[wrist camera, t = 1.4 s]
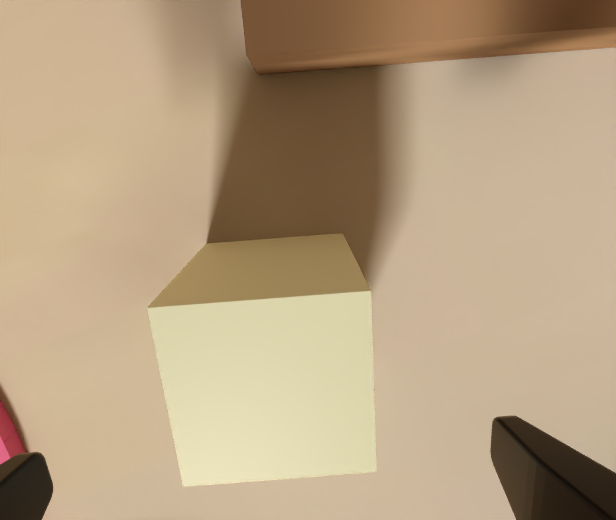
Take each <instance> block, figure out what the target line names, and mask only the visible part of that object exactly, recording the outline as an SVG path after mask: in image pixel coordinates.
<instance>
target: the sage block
mask: <svg viewBox="0 0 616 520" xmlns="http://www.w3.org/2000/svg"><path fill="white" fill-rule="evenodd" d="M147 311H148V316H149V321H150V326H151V331H152V336H153V341H154V346H155V351H156V356H157V360H158V365H159V370H160V375H161V380H162V385H163V390H164V395H165V400H166V405H167V409H168V414H169V419H170V424H171V429H172V434H173V439H174V444H175V449H176V454H177V459H178V463H179V468H180V473H181V478H182V483H183V487H187V486H200V485H213V484H226V483H239V482H252V481H265V480H278V479H291V478H304V477H317V476H330V475H343V474H356V473H369V472H376V440H375V407H374V374H373V342H372V309H371V290H370V288H369V286H368V284H367V282H366V280H365V278H364V276H363V274H362V271H361V269H360V267H359V265H358V263H357V261H356V259H355V257H354V255H353V253H352V251H351V249H350V247H349V245H348V243H347V241H346V239H345V237H344V235H343V233H336V234H323V235H310V236H297V237H284V238H271V239H258V240H245V241H232V242H219V243H206V245H205V246H204V247H203V248H202V249H201V250H200V251H199V252H198V253H197V254H196V255H195V256H194V258H193V259H192V260H191V261H190V262H189V263H188V264H187V265H186V266H185V267H184V268H183V269H182V271H181V272H180V273H179V274H178V275H177V276H176V277H175V278H174V279H173V280H172V281H171V282H170V283H169V285H168V286H167V287H166V288H165V289H164V290H163V291H162V292H161V293H160V294H159V295H158V296H157V298H156V299H155V300H154V301H153V302H152V303H151V304H150V305H149V306H148V307H147Z"/></svg>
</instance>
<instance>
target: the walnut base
mask: <svg viewBox="0 0 616 520" xmlns="http://www.w3.org/2000/svg"><path fill="white" fill-rule="evenodd" d="M241 7H242V17H243V26H244V35H245V45H246V54H247V56H248V58H249V60H250V62H251V63H252V65H253V67H254V68H255V70H256V72H257V73H258V74H271V73H284V72H297V71H310V70H323V69H336V68H349V67H362V66H375V65H388V64H401V63H414V62H427V61H441V60H454V59H467V58H480V57H493V56H506V55H519V54H532V53H545V52H558V51H571V50H584V49H597V48H611V47H616V0H241Z"/></svg>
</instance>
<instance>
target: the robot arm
mask: <svg viewBox="0 0 616 520" xmlns="http://www.w3.org/2000/svg"><path fill="white" fill-rule="evenodd" d="M491 458H492V462H493V465H494V467H495V470H496V472H497V475H498V477H499V479H500V482H501V484H502V487H503V489H504V491H505V494H506V496H507V498H508V501H509V503H510V506H511V508H512V510H513V513H514V515H515V518H516V520H616V473H615V472H613V471H611V470H609V469H608V468H606V467H604V466H602V465H601V464H599V463H597V462H595V461H594V460H592V459H590V458H589V457H587V456H585V455H583V454H582V453H580V452H578V451H576V450H575V449H573V448H571V447H569V446H568V445H566V444H564V443H562V442H561V441H559V440H557V439H555V438H554V437H552V436H550V435H549V434H547V433H545V432H543V431H542V430H540V429H538V428H536V427H535V426H533V425H531V424H529V423H528V422H526V421H524V420H522V419H521V418H519V417H517V416H501V417H496V418H494V420H493V423H492V435H491ZM52 493H53V483H52V479H51V476H50V473H49V470H48V467H47V464H46V461H45V458H44V456H43V455H42V454H41V453H39V452H32V453H21V454H17V455H15V456H13V457H12V458H10V459H8V460H7V461H5V462H3V463H2V464H0V520H42V518H43V516H44V513H45V511H46V509H47V507H48V504H49V502H50V500H51V497H52Z"/></svg>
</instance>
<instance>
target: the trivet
mask: <svg viewBox="0 0 616 520" xmlns="http://www.w3.org/2000/svg"><path fill="white" fill-rule="evenodd" d="M21 453H25V451H24V448H23V445H22V442H21V440H20V438H19V436H18V433H17V431H16V429H15V427H14V425H13V422H12V420H11V418H10V416H9V415H8V413H7V411H6V409H5V408H4V406H3V404H2V402H1V401H0V464H2V463H3V462H5V461H7V460H8V459H10V458H12V457H13V456H15V455H17V454H21Z"/></svg>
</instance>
